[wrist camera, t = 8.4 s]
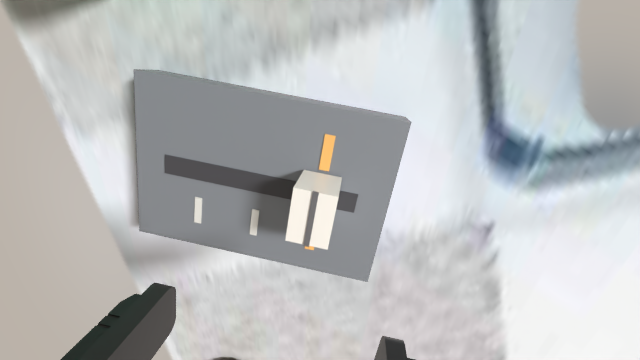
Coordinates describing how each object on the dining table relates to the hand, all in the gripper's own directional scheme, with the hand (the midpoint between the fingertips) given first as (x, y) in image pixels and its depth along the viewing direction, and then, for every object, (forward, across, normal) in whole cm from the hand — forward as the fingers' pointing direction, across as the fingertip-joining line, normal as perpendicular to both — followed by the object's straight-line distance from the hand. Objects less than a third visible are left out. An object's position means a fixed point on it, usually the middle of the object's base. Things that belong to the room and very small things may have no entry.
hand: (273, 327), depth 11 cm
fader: (+13, 0, 0) cm, 13 cm away
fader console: (+17, +5, 0) cm, 17 cm away
